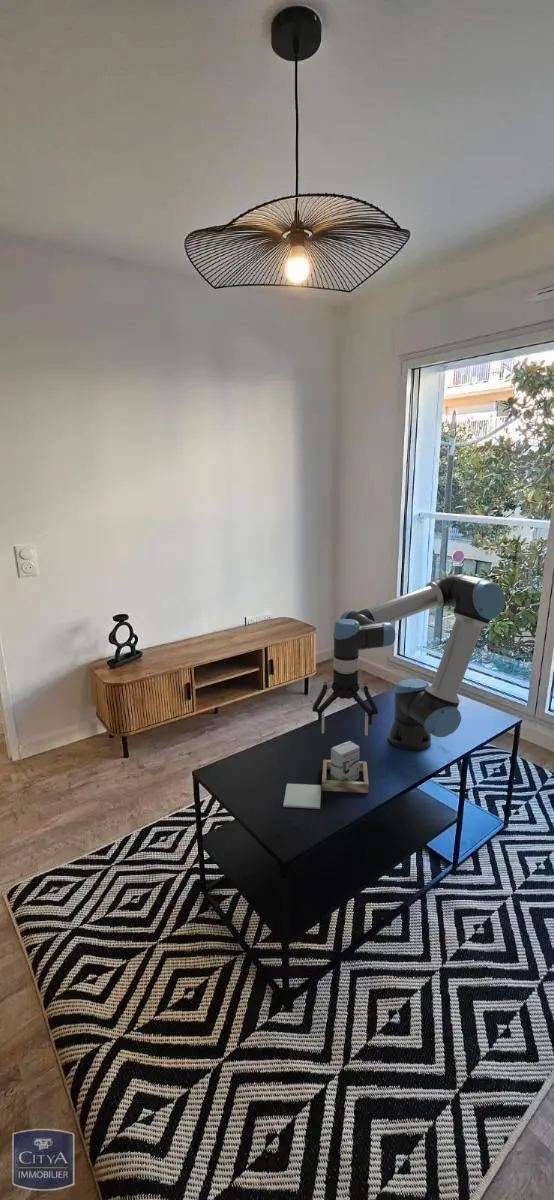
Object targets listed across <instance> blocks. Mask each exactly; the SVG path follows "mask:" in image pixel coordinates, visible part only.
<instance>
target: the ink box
mask: <svg viewBox="0 0 554 1200" xmlns="http://www.w3.org/2000/svg"><path fill="white" fill-rule="evenodd" d="M360 748H361V747H360V745H358V744H356V743H354V742H353V741H351V740H348V741H345V742H342V743H340V744H338V745H335V746H332V747H331V748H330V760H331V770H330V780H335V781H357V780H358V779H360V771H359V761H360V752H361V751H360Z"/></svg>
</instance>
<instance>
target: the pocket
mask: <svg viewBox="0 0 554 1200" xmlns="http://www.w3.org/2000/svg"><path fill="white" fill-rule="evenodd" d="M367 764H368V763H367V761H365V760H363V761H360V760H359V772H362V776H363V778H362V780H363V781H357V780H355V781H335V780H331V779H327V775H328V773H327V771H331V759H323V760H322V775H321V777H322V778H321V792H322V791H323V792H324V791H326V792H345V793H346V792H347V793H362V794H363V793H364V794H365V793H367V794H368V793H369V789H370V788H369V785H370V784H369V776H368V775H369V774H368V765H367Z"/></svg>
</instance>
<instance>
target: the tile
mask: <svg viewBox="0 0 554 1200" xmlns="http://www.w3.org/2000/svg"><path fill="white" fill-rule="evenodd" d="M321 799H322V784H305V783H286V786H285V794H284V800H283V804H282V805H283V808H295V809H296V808H297V809H298V808H299V809H315V810H316V809H317V810H321V802H322V801H321Z"/></svg>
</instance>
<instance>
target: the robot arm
mask: <svg viewBox="0 0 554 1200" xmlns="http://www.w3.org/2000/svg"><path fill="white" fill-rule="evenodd" d="M505 604H506V597H505V593H504V591H503V588H502V587H501V586H500V585H499V584H498V583H496V582H494V581H492V580H491V581H490V580H489V579H485V578H482V577H481V578H480V577H476V576H471V575H468V574H463V573H462V574H461V573H458V574H457V573H456V574H452V575H448V576H443V577H441V578H440V577H439V579H438V578H437V579H435V580H431V581H429V582H428V583H426V585H425V587H421V588H419V589H416V590H414V591H411V592H408V593H405V594H402V595H400V596H397V597H395V598H391V599H390V600H387V601H383V602H381V603H378V604H375V605H373V606H371V607H367V608H364V609H361V610H359V611H356V610H346V611H344V612H343V613H342V614H341V615H340V618H339V619H338V620H336V621H335V623H334V629H333V671H332V672H333V674H332V678H333V679H332V683H327V681H324V682H323V685H322V689H321V691H320V692H319V694H318V696H317V697H316V700H315V702H314V703H313V705H312V709H311V710H312V712H314V713H316V714H317V722H318V723H321V734H325V710H326V709H328V707H330V705H332V703H333V702H334V701H336V700H337V699H338V698H340V699H341V700H344V699H346V700H351V699H353V700H354V701H355V702H356V703H357V704H358V705H359V706H360V707H361V709H363V711H364V712H365V713H364V714H365V715H364V717H365V718H364V735H365V736H368V734H369V730H368V729H369V726H370V725H372V723H373V722H372V721H373V715H378V714H379V709H378V707H377V706H376V703H375V701H374V700H373V697H372V695H371V693H370V691H369V685H368V684H367V683H366V682H365V683H363V684H359V683H358V682H359V671H358V669H359V652H360V651H363V650H369V649H377V648H384V647H389V646H392V645H393V644H394V643H395V641H396V630H395V628H394V626H393V624H392V623H395V622H398V621H400V620H403V619H406V618H408V617H411V616H413V615H417V614H420V613H422V612H424V611H427V610H430V609H432V608H435V609H440V608H444V607H454V610H453V611H452V613H453V615H454V617H455V621H454V623H453V626H452V628H451V632H450V634H449V637H448V640H447V642H446V645H445V648H444V650H443V653H442V657H441V659H440V662H439V665H438V667H437V670H436V673H435V675H434V677H433V680H432V683H431V685H429V683H428V681H425V680H422V679H415V678H411V679H409V678H408V679H403V680H399V681H398V682H397V683H396V684H395V687H394V707H393V708H394V713H393V715H394V716H393V721H392V723H391V726H390V729H389V731H388V741H389V742H390V743H391V744H392V745H393V746H394V747H396V748H398V749H401V750H406V751H422V750H425V749H427V748H429V747H430V746H431V743H432V736H434V737H436V738H446V737H448V736H451V735H452V734H453V733H455V731H456V730H457V729H459V726H460V724H461V722H462V715H461V711H460V710H459V709H458V707H459V704H460V703H461V700H460V699H459V697H458V693H459V691H460V688H461V687H462V683H463V680H464V677H465V675H466V672H467V669H468V667H469V664H470V661H471V659H472V656H473V654H474V650H475V648H476V645H477V643H478V639H479V637H480V635H481V632H482V629H483V628H484V627H486V626H488V625H489V624H490V622H491V619H496V618H497V617H498V616H500V615H501V613H502V612H503V609H504V607H505ZM330 689H332V691H333V692H331V694H330V695H329V697H327V699H326V700H325V701H323V699H324V698H325V696H326V694H327V692H328V691H330ZM359 691H361V692H362V693H363V694H364V696H365V698H366V700H367V702H368V704H369V706H370V707H369V706H368V704H367V703H366V702H365V701H364V700H363V698H361V696H360V695H359V693H358V692H359ZM322 702H323V703H322ZM321 703H322V704H321ZM320 704H321V705H320Z"/></svg>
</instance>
